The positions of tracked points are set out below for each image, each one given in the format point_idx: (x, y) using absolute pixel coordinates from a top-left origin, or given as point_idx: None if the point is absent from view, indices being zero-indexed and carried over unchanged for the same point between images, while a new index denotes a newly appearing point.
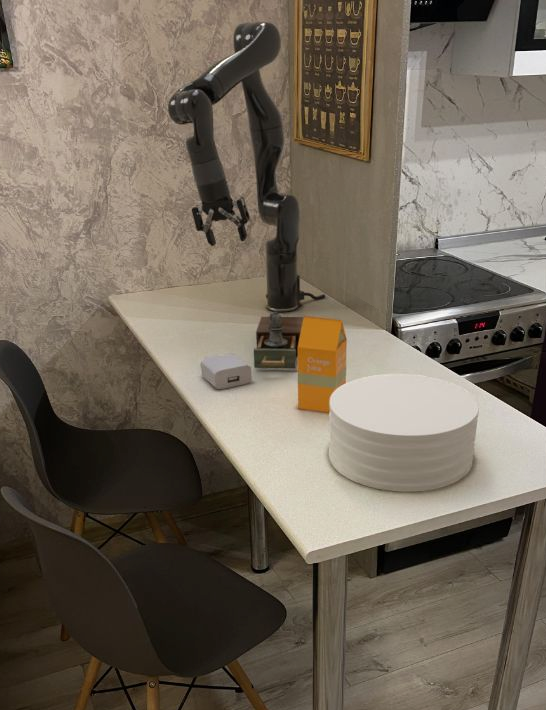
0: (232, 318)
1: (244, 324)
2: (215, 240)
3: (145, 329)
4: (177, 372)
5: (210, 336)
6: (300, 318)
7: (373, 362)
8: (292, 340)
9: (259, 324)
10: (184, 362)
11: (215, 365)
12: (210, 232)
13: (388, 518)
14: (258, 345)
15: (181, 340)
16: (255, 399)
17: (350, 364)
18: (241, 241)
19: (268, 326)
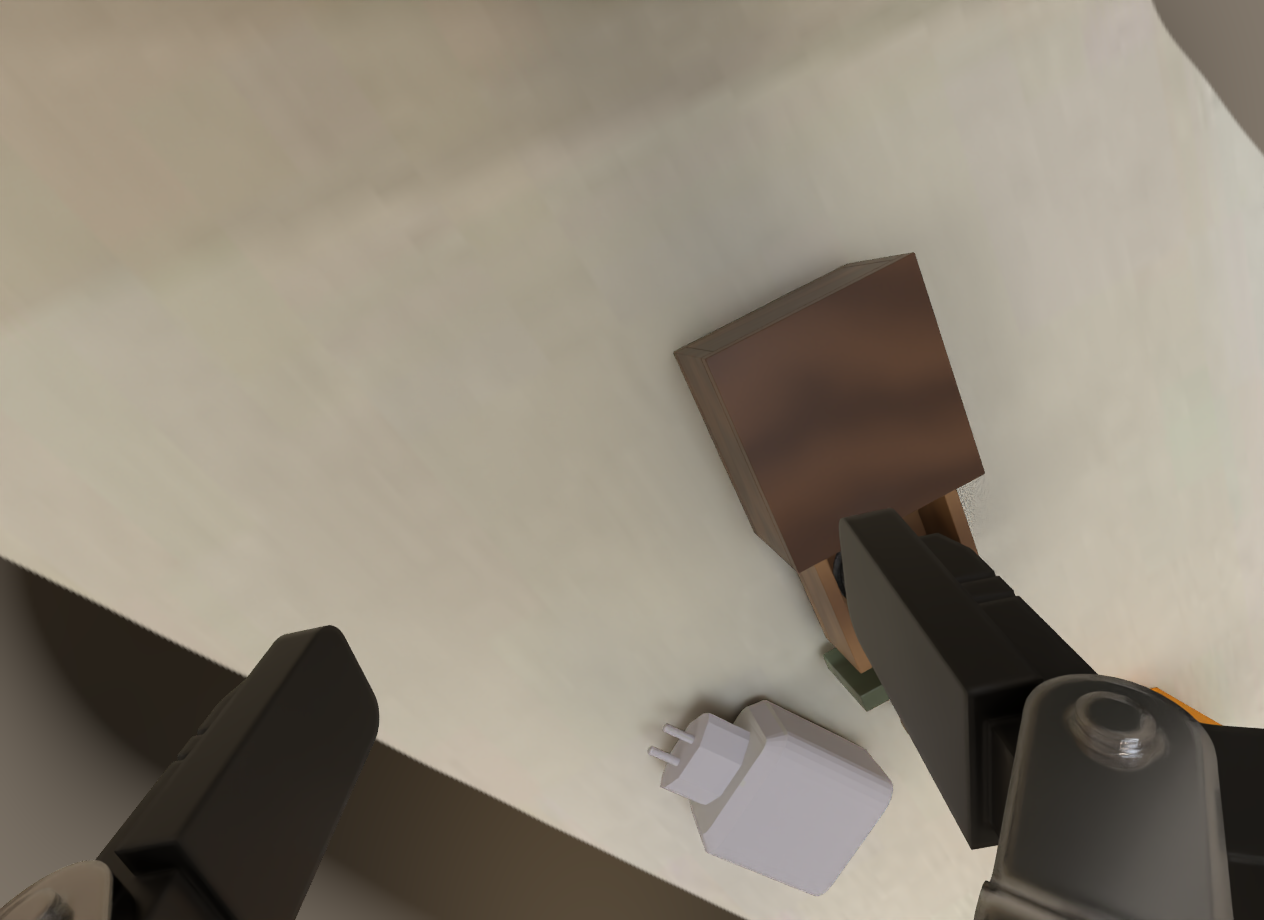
0: (326, 121)
1: (461, 190)
2: (310, 645)
3: (18, 530)
4: (577, 815)
5: (422, 442)
6: (910, 284)
7: (1171, 367)
8: (961, 534)
9: (760, 476)
10: (535, 737)
11: (790, 867)
12: (262, 910)
13: None
14: (856, 656)
15: (333, 558)
16: (924, 821)
17: (1103, 428)
18: (849, 611)
19: (816, 479)
